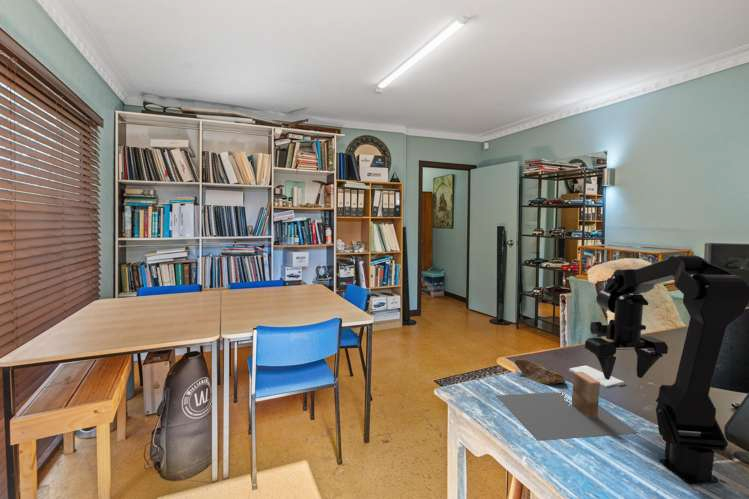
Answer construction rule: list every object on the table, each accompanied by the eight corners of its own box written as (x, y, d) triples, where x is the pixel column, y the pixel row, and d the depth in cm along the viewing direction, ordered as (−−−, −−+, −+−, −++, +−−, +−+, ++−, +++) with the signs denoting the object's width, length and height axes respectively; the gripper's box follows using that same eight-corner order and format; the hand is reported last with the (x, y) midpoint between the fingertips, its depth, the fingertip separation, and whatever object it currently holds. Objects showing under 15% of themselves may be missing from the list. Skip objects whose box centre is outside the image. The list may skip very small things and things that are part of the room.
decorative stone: (526, 351, 119) (573, 372, 107) (523, 363, 119) (570, 385, 108) (511, 358, 112) (559, 380, 101) (508, 370, 113) (556, 394, 102)
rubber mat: (639, 434, 81) (639, 433, 81) (537, 442, 78) (537, 440, 78) (578, 392, 101) (578, 390, 101) (495, 396, 98) (495, 395, 98)
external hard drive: (586, 369, 118) (624, 386, 106) (568, 373, 115) (605, 390, 103) (586, 364, 118) (625, 381, 106) (568, 368, 115) (606, 385, 103)
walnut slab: (597, 417, 88) (599, 382, 87) (588, 417, 87) (590, 382, 86) (580, 404, 93) (582, 371, 93) (571, 405, 93) (573, 372, 92)
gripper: (634, 309, 99) (629, 364, 100) (572, 311, 96) (568, 366, 98) (672, 321, 88) (666, 382, 89) (603, 323, 85) (599, 385, 87)
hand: (623, 378), depth 91 cm, fingers open, 9 cm apart
